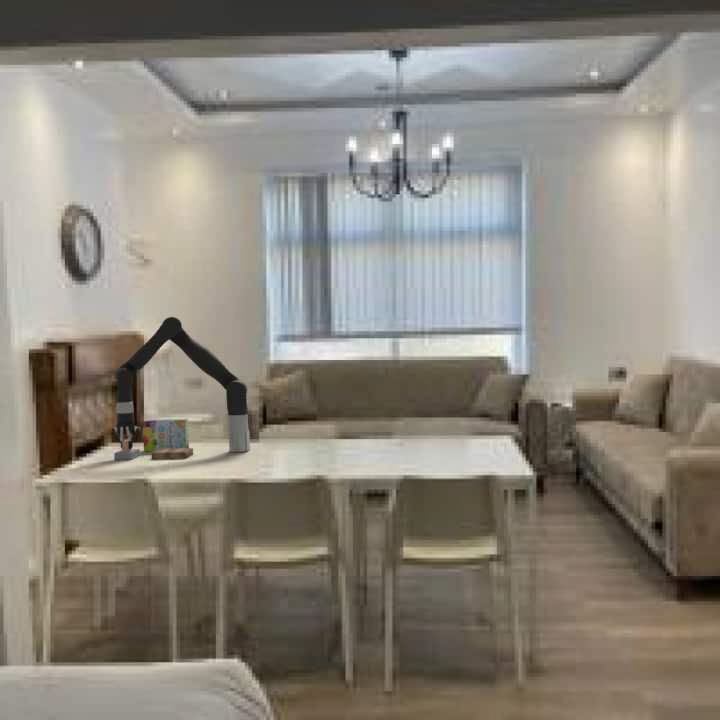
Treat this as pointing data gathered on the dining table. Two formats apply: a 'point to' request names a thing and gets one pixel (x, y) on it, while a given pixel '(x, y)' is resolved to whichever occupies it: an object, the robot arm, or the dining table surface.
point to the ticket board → (172, 453)
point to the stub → (126, 452)
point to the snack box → (165, 434)
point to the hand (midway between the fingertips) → (126, 449)
